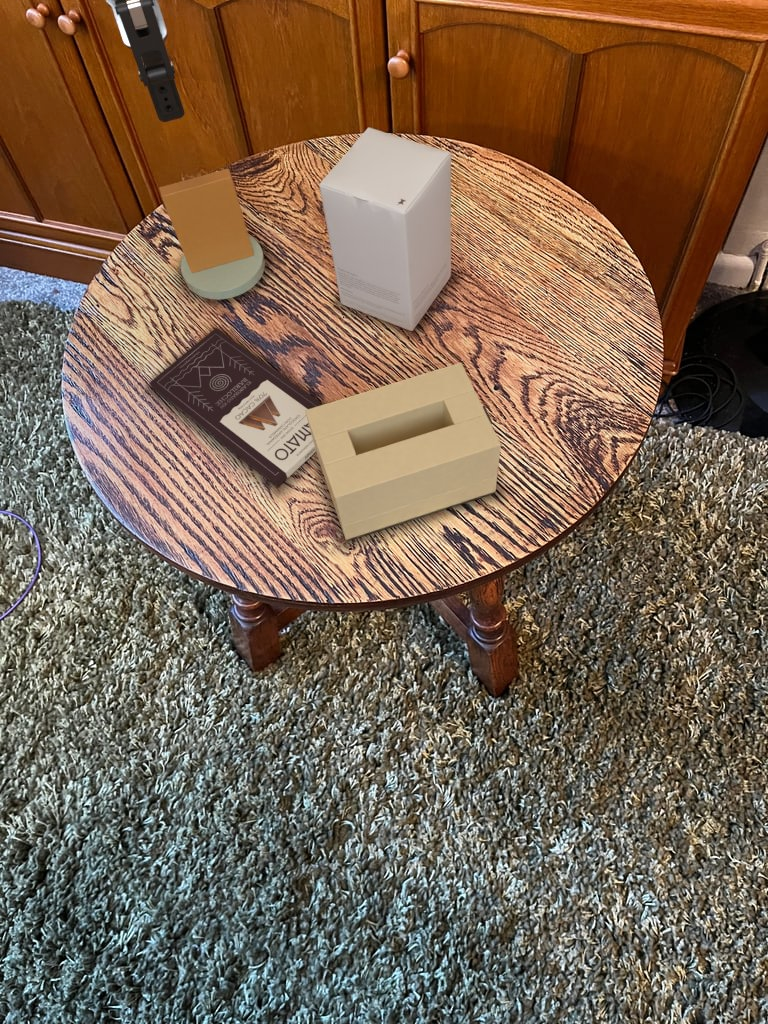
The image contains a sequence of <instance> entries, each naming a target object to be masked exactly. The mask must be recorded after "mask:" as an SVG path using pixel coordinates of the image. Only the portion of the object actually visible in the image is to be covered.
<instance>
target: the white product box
mask: <svg viewBox="0 0 768 1024" xmlns="http://www.w3.org/2000/svg"><path fill="white" fill-rule="evenodd" d="M318 188H319V192H320V197H321V202H322V208H323V214H324V219H325V224H326V231H327V236H328V241H329V247H330V252H331V257H332V258H331V259H332V263H333V269H334V274H335V279H336V280H335V281H336V285H337V290H338V294H339V295H338V297H339V303H340V304H341V305H343V306H345V307H348V308H351V309H353V310H355V311H358V312H361V313H364V314H366V315H368V316H371V317H374V318H375V319H379V320H381V321H384V322H386V323H389V324H391V325H394V326H397V327H399V328H401V329H405V330H407V331H410V332H413V331H414V330H415V328H416V327H417V325H418V324H419V323H420V321H421V320H422V318H423V317H424V316H425V314H426V313H427V311H428V310H429V308H430V307H431V306H432V304H433V303H434V301H435V300H436V299H437V297H438V295H440V293H441V292H442V290H443V288H444V287H445V286H446V284H447V283H448V281H449V280H450V278H451V277H452V152H451V151H446V150H444V149H441V148H437V147H433V146H430V145H427V144H423V143H420V142H416V141H414V140H410V139H407V138H404V137H400V136H399V135H395V134H392V133H388V132H386V131H385V132H384V131H382V130H379V129H375V128H373V127H367V128H366V129H365V130H364V132H363V133H362V134H361V135H360V136H359V137H358V139H356V141H354V143H353V144H352V146H351V147H350V148H349V149H348V151H346V153H345V154H344V155H343V156H342V158H341V159H339V160H338V162H337V163H336V164H335V165H334V166H333V168H331V169H330V171H329V172H328V173H327V174H326V175H325V176H324V177H323V179H322V180H321V182H319V184H318Z"/></svg>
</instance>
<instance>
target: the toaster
mask: <svg viewBox="0 0 768 1024" xmlns="http://www.w3.org/2000/svg"><path fill="white" fill-rule="evenodd" d="M305 413H306V416H307V420H308V424H309V427H310V431H311V435H312V438H313V442H314V445H315V449H316V452H315V453H316V457H317V460H318V463H319V466H320V468H321V472H322V474H323V478H324V481H325V484H326V487H327V490H328V492H329V495H330V498H331V501H332V505H333V507H334V509H335V513H336V516H337V519H338V522H339V525H340V528H341V530H342V533H343V536H344V540H345V542H346V543H347V542H350V541H353V540H356V539H360V538H363V537H366V536H369V535H372V534H375V533H378V532H381V531H384V530H387V529H390V528H394V527H397V526H400V525H403V524H406V523H410V522H412V521H415V520H418V519H421V518H424V517H427V516H430V515H434V514H436V513H440V512H442V511H446V510H449V509H452V508H455V507H458V506H461V505H465V504H467V503H471V502H474V501H476V500H479V499H483V498H486V497H489V496H492V495H496V493H497V490H496V489H497V482H498V475H499V466H500V465H499V464H500V457H501V456H500V455H501V448H502V443H501V442H500V439H499V437H498V435H497V434H496V432H495V429H494V427H493V420H492V418H491V416H490V414H489V412H488V409H487V408H486V406H485V405H482V402H481V400H480V399H479V396H478V393H477V392H476V391H475V388H474V386H473V384H472V382H471V380H470V378H469V376H468V373H467V372H466V369H465V367H464V365H463V363H462V362H457V363H454V364H450V365H447V366H445V367H441V368H438V369H435V370H431V371H428V372H425V373H421V374H419V375H415V376H412V377H409V378H406V379H405V378H404V379H402V380H400V381H396V382H392V383H389V384H386V385H383V386H379V387H376V388H373V389H370V390H367V391H363V392H359V393H356V394H354V395H350V396H347V397H343V398H340V399H337V400H334V401H331V402H327V403H325V404H323V405H321V406H317V407H314V408H311V409H308V410H305Z"/></svg>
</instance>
